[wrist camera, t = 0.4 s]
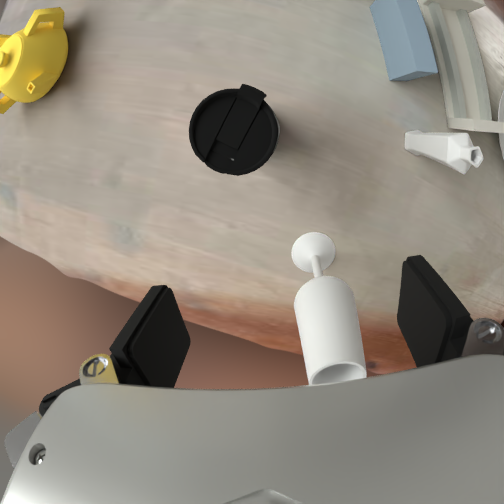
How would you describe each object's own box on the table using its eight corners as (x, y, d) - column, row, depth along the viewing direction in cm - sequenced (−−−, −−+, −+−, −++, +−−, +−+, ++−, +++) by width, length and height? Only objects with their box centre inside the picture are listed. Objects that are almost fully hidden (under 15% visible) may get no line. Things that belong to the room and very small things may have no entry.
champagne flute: (314, 280, 44) (333, 411, 22) (282, 255, 43) (278, 385, 21) (344, 250, 41) (393, 373, 20) (312, 222, 40) (342, 338, 18)
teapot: (83, 10, 27) (39, -5, 16) (73, 95, 34) (22, 96, 23) (24, 39, 28) (-18, 35, 17) (17, 113, 35) (-28, 120, 24)
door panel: (369, 7, 25) (389, -17, 17) (388, 8, 25) (411, -14, 17) (389, 80, 30) (416, 70, 22) (407, 80, 30) (438, 72, 21)
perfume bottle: (412, 119, 32) (473, 123, 18) (431, 140, 33) (495, 155, 19) (395, 142, 34) (451, 155, 20) (415, 162, 34) (474, 186, 21)
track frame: (416, -3, 23) (436, -18, 16) (460, 7, 21) (482, -3, 15) (447, 127, 31) (474, 131, 25) (487, 129, 30) (514, 134, 23)
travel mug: (289, 118, 34) (299, 109, 16) (265, 160, 37) (250, 195, 19) (247, 97, 34) (212, 68, 15) (224, 139, 36) (170, 154, 18)
